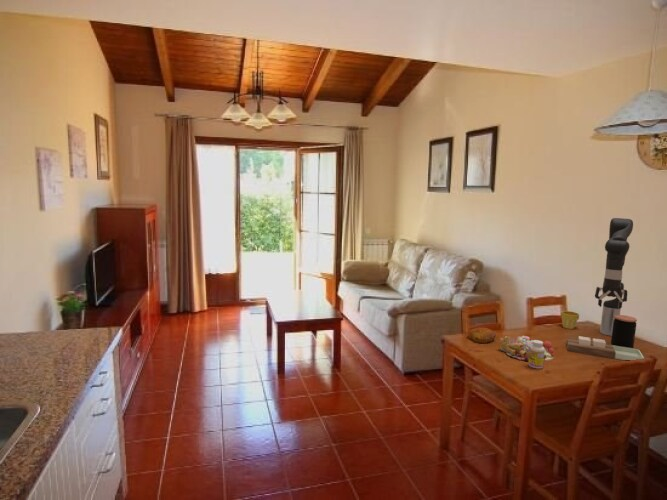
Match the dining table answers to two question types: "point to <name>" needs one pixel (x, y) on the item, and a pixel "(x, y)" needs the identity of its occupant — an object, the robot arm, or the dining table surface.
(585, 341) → the tile
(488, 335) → the round bread loaf
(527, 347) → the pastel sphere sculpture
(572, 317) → the plant pot
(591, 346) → the board
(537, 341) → the supplement bottle
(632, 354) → the tray
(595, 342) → the tile
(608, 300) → the robot arm
